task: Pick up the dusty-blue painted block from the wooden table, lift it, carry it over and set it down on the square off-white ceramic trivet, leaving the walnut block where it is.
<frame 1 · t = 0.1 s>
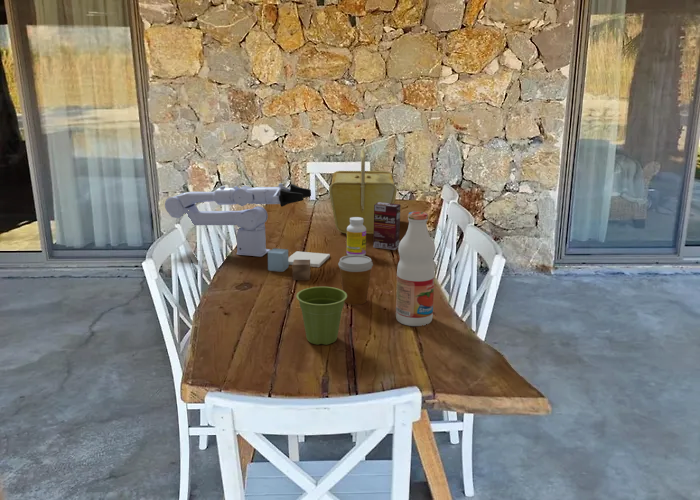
hand: (306, 195, 207), 22 cm above the table, tool horizontal, fingers open, 7 cm apart
blue block: (278, 268, 202), on the table
disposable coffee cup: (355, 301, 175), on the table
picnic basket: (362, 226, 256), on the table
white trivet: (307, 260, 210), on the table
walnut block: (301, 277, 194), on the table
supplement box: (386, 248, 226), on the table
plant pot: (322, 340, 150), on the table
fruit juice: (414, 320, 162), on the table
supplement bottle: (356, 255, 217), on the table
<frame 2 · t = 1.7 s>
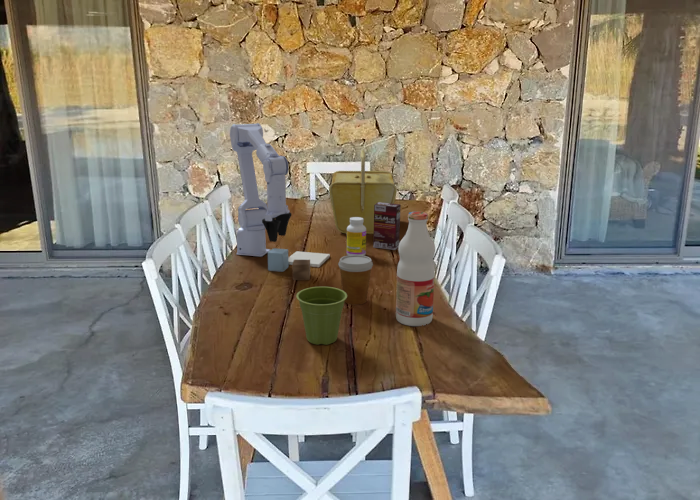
hand: (277, 238, 199), 10 cm above the table, tool pointing down, fingers open, 7 cm apart
nothing on the table moved.
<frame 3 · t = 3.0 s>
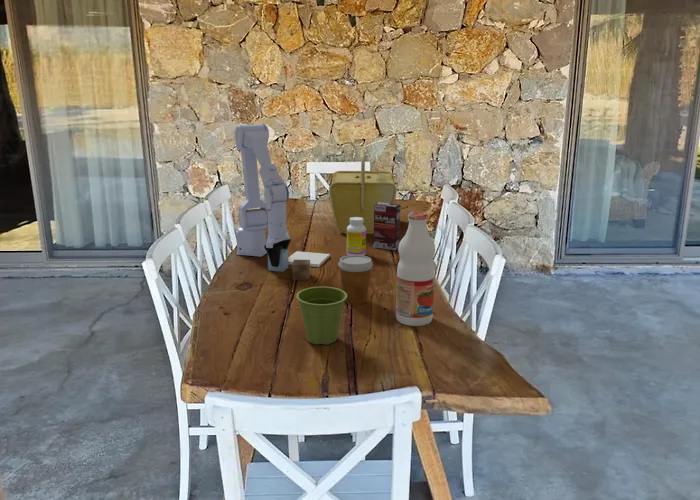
hand: (278, 263, 201), 2 cm above the table, tool pointing down, fingers closed on blue block, 5 cm apart
blue block: (278, 268, 202), on the table, touching gripper
everything else where it was.
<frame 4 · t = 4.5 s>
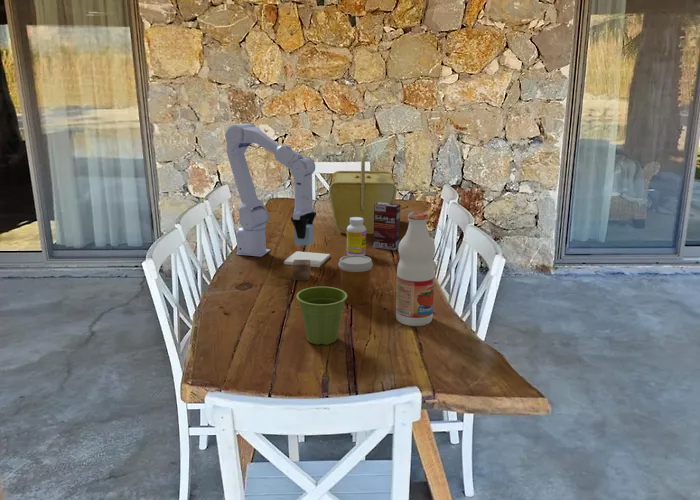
hand: (304, 236, 207), 9 cm above the table, tool pointing down, fingers closed on blue block, 5 cm apart
blue block: (304, 243, 208), point 6 cm above the table, touching gripper
everything else where it was.
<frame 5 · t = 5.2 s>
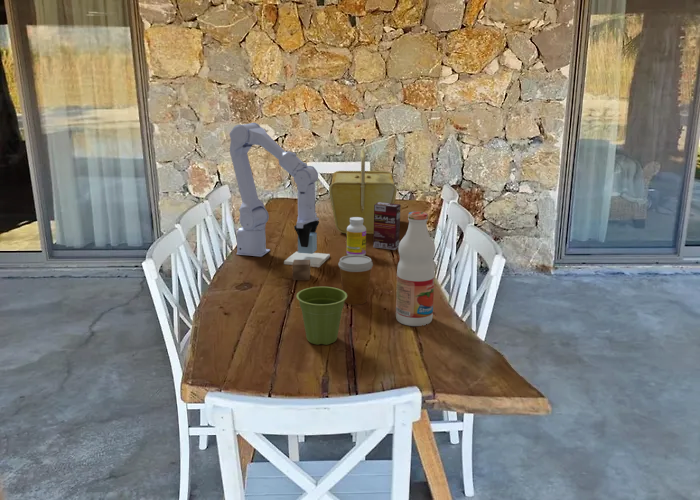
hand: (307, 244, 209), 6 cm above the table, tool pointing down, fingers closed on blue block, 5 cm apart
blue block: (307, 251, 209), point 3 cm above the table, touching gripper
everything else where it was.
when the fingers open (4 cm above the table, at t = 6.0 s): blue block stays where it is, resting on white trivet.
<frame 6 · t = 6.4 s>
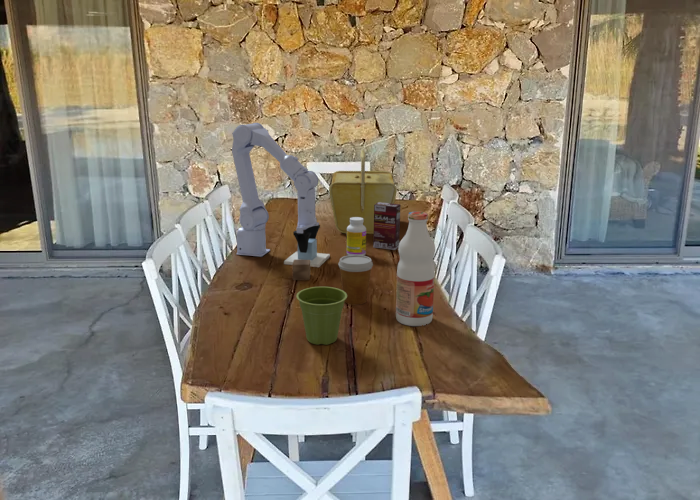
hand: (307, 249, 209), 4 cm above the table, tool pointing down, fingers open, 7 cm apart
blue block: (307, 257, 210), point 1 cm above the table, touching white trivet
everything else where it was.
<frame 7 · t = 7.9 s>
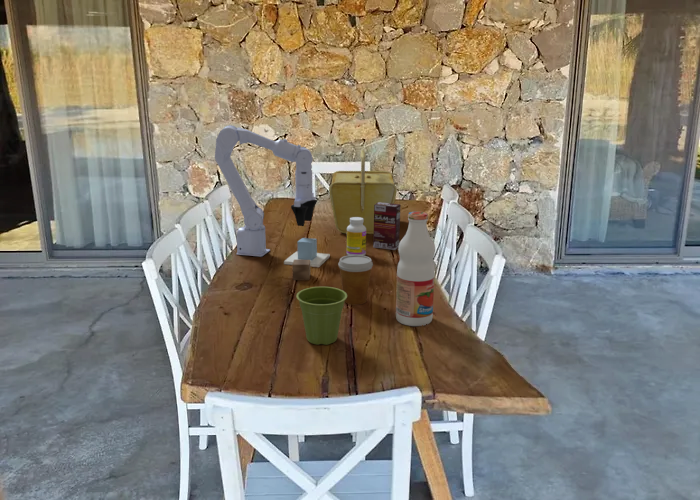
hand: (304, 223, 217), 10 cm above the table, tool pointing down, fingers open, 7 cm apart
nothing on the table moved.
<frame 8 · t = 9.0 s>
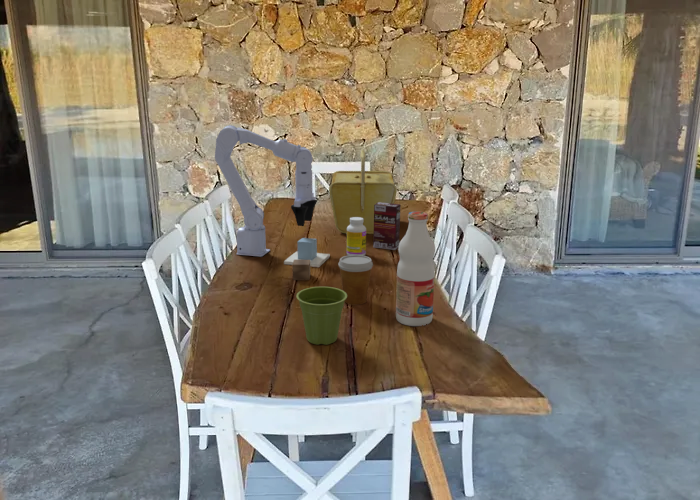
hand: (304, 223, 217), 10 cm above the table, tool pointing down, fingers open, 7 cm apart
nothing on the table moved.
at the end: blue block inside the target area on the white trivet (0.1 cm from its centre), point 1.0 cm above the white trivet's base; blue block tilted 0°; the gripper is holding nothing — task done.
